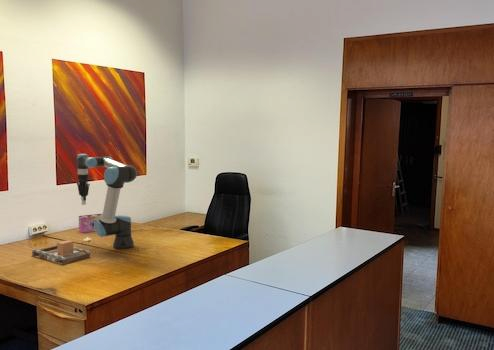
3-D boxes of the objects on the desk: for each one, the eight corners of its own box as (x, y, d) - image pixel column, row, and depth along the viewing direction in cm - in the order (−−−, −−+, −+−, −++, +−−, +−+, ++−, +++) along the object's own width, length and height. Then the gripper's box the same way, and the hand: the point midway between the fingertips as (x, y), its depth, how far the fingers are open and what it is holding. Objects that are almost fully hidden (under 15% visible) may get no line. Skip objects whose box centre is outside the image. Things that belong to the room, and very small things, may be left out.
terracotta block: (73, 252, 294) (73, 241, 294) (63, 255, 288) (62, 243, 287) (68, 251, 298) (67, 240, 297) (57, 254, 291) (57, 242, 290)
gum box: (106, 228, 383) (106, 213, 382) (109, 229, 377) (109, 214, 376) (78, 231, 370) (78, 215, 368) (81, 233, 363) (80, 217, 362)
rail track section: (89, 257, 295) (89, 250, 294) (63, 264, 278) (63, 257, 278) (58, 249, 314) (58, 243, 313) (32, 255, 297) (32, 249, 297)
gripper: (92, 174, 330) (93, 204, 332) (81, 173, 337) (82, 203, 339) (84, 175, 323) (84, 206, 326) (73, 174, 330) (74, 204, 333)
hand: (83, 204), depth 332 cm, fingers closed
